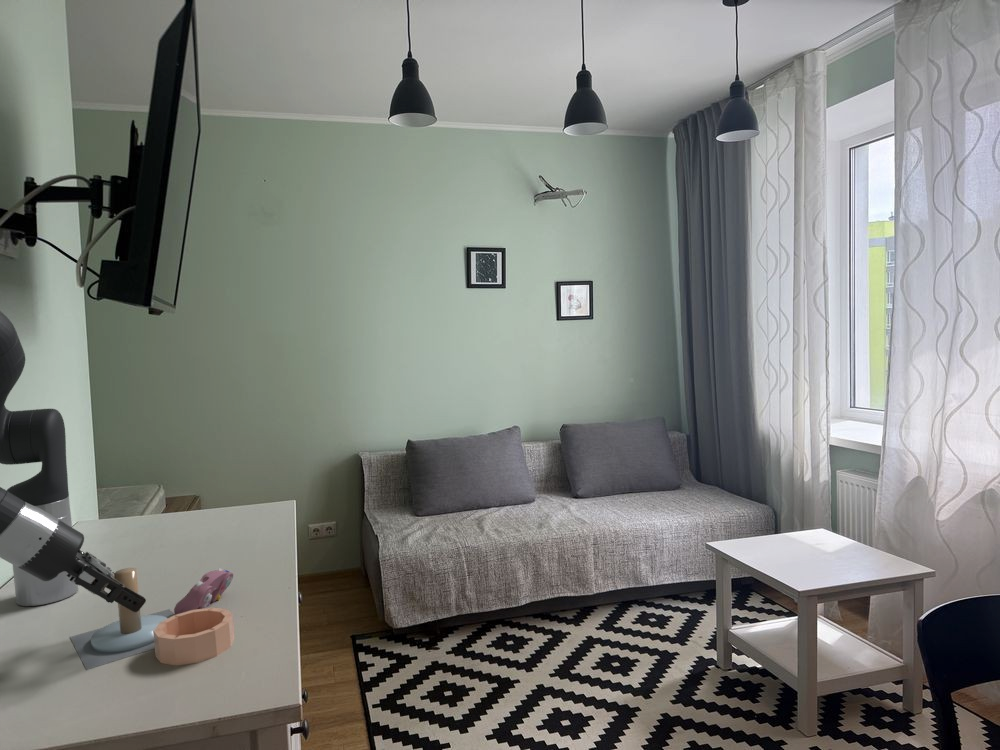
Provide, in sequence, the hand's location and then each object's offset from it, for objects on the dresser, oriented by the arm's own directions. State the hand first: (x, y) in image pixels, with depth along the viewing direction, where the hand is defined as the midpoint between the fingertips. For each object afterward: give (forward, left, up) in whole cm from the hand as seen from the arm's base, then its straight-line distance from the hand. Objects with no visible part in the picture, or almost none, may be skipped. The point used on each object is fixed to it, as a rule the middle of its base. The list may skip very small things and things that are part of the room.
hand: (134, 598), depth 104 cm
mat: (0, -1, -6) cm, 6 cm away
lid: (0, -1, -6) cm, 6 cm away
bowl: (+11, +5, -6) cm, 14 cm away
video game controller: (-5, +11, -6) cm, 14 cm away
